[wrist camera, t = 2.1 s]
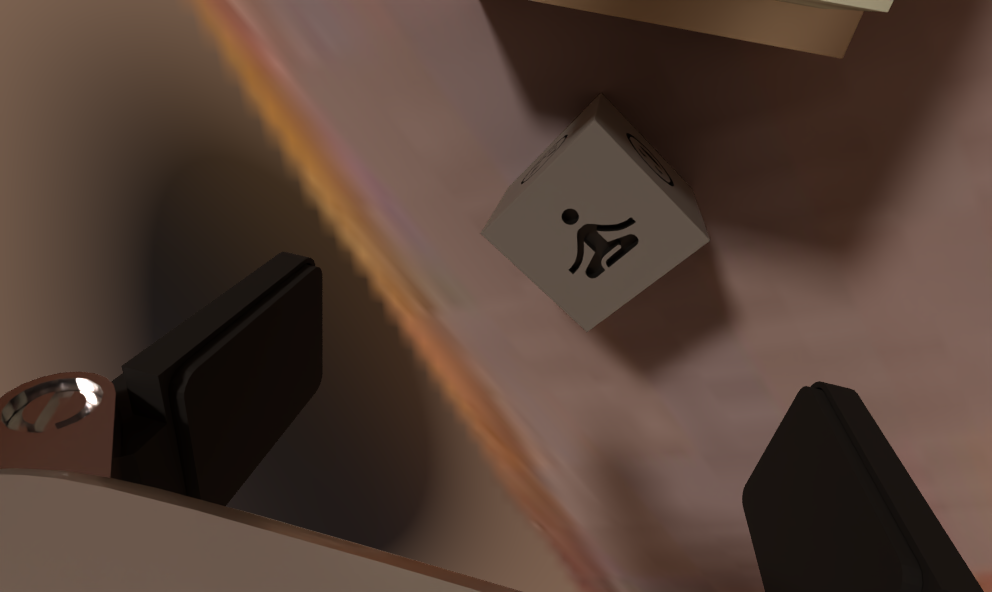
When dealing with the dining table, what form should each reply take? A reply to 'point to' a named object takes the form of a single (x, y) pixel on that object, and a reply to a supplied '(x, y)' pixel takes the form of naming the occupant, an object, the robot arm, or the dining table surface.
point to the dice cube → (597, 217)
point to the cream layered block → (749, 19)
